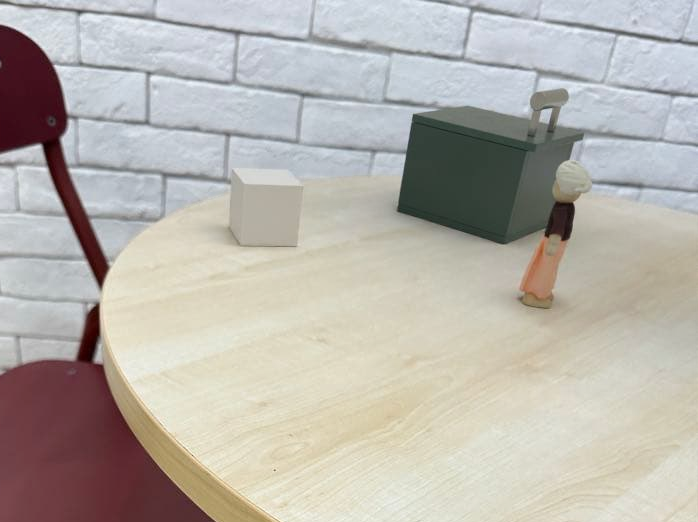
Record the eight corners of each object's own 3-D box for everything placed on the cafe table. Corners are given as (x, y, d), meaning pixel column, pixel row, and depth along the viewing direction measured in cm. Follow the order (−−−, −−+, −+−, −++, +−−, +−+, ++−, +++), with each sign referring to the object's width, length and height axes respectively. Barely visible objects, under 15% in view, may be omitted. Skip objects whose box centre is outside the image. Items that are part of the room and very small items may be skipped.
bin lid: (582, 140, 97) (596, 90, 94) (534, 152, 89) (548, 98, 86) (466, 112, 104) (475, 65, 101) (411, 121, 96) (419, 70, 93)
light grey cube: (297, 246, 88) (303, 185, 84) (240, 246, 86) (244, 184, 82) (282, 227, 92) (287, 169, 88) (228, 226, 90) (231, 167, 87)
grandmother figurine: (516, 284, 85) (551, 148, 77) (554, 291, 84) (594, 155, 77) (516, 312, 79) (555, 167, 71) (558, 319, 78) (602, 174, 71)
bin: (551, 225, 104) (575, 138, 98) (503, 244, 95) (526, 151, 90) (449, 195, 110) (466, 112, 105) (396, 210, 102) (411, 121, 96)
